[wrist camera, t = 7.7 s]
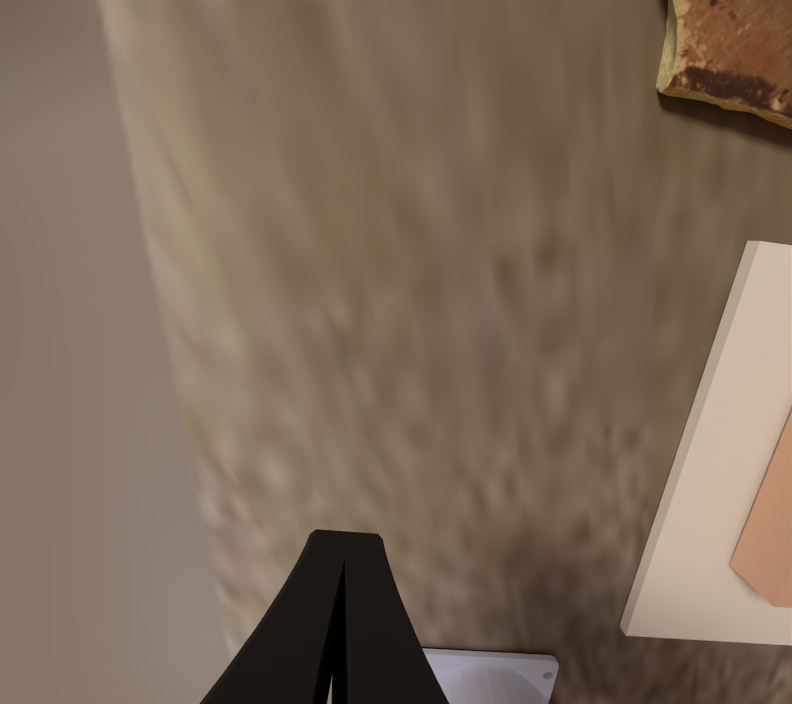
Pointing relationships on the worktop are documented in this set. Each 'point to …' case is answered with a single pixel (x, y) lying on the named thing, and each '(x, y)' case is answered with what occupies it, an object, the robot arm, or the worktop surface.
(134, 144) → the worktop surface
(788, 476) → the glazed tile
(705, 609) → the cutting board
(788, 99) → the shard
